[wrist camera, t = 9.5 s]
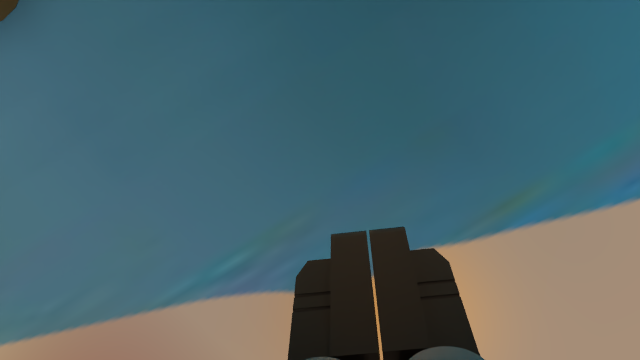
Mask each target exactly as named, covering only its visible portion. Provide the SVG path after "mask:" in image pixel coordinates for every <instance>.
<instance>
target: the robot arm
mask: <svg viewBox="0 0 640 360" xmlns="http://www.w3.org/2000/svg"><path fill="white" fill-rule="evenodd" d="M369 233H370V242H371V252H372V261H373V270H374V279H375V288H376V296H377V306H378V315H379V324H380V333H381V342H382V351H383V360H484V359H483V358H482V357H481V356H480V354H479V352H478V349H477V346H476V343H475V340H474V337H473V333H472V330H471V327H470V324H469V321H468V319H467V315H466V312H465V309H464V306H463V303H462V300H461V297H460V296H459V291H458V288H457V285H456V283H455V279H454V276H453V273H452V270H451V267H450V264H449V262H448V261H447V260H446V259H445V258H444V257H443V256H442V255H440V254H439V253H438V252H437V251H436V250H435V249H434V248H431V249H421V250H411V251H410V249H409V245H408V240H407V236H406V231H405V228H404V227H396V228H387V229H377V230H369ZM294 295H295V298H294V304H293V313H292V323H291V333H290V344H289V353H288V360H380V354H379V345H378V335H377V325H376V315H375V307H374V297H373V288H372V279H371V270H370V261H369V253H368V244H367V235H366V231H359V232H349V233H339V234H331V259H322V260H312V261H307V263H306V264H305V266H304V267H303V268H302V270H301V271H300V272H299V274H298V275H297V277H296V284H295V294H294Z"/></svg>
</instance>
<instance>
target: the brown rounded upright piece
mask: <svg viewBox="0 0 640 360" xmlns="http://www.w3.org/2000/svg"><path fill="white" fill-rule="evenodd" d="M18 1H19V0H0V21H2V20H4V18H5V17H6V16H7V15H8V14H9V13H10V12H11V11H12V10H13V9H14V8H15V7H16V5H17V3H18Z"/></svg>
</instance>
